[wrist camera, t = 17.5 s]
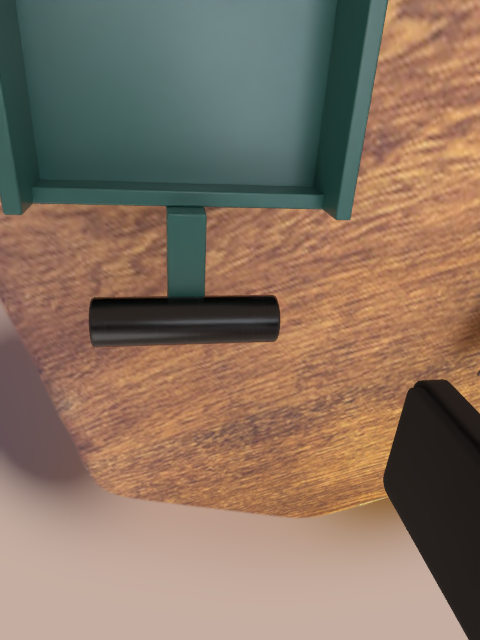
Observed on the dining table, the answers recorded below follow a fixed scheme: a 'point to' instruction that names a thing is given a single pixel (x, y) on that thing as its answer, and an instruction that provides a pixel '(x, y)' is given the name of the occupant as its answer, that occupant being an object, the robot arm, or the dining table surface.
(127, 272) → the dining table surface
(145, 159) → the scoop
